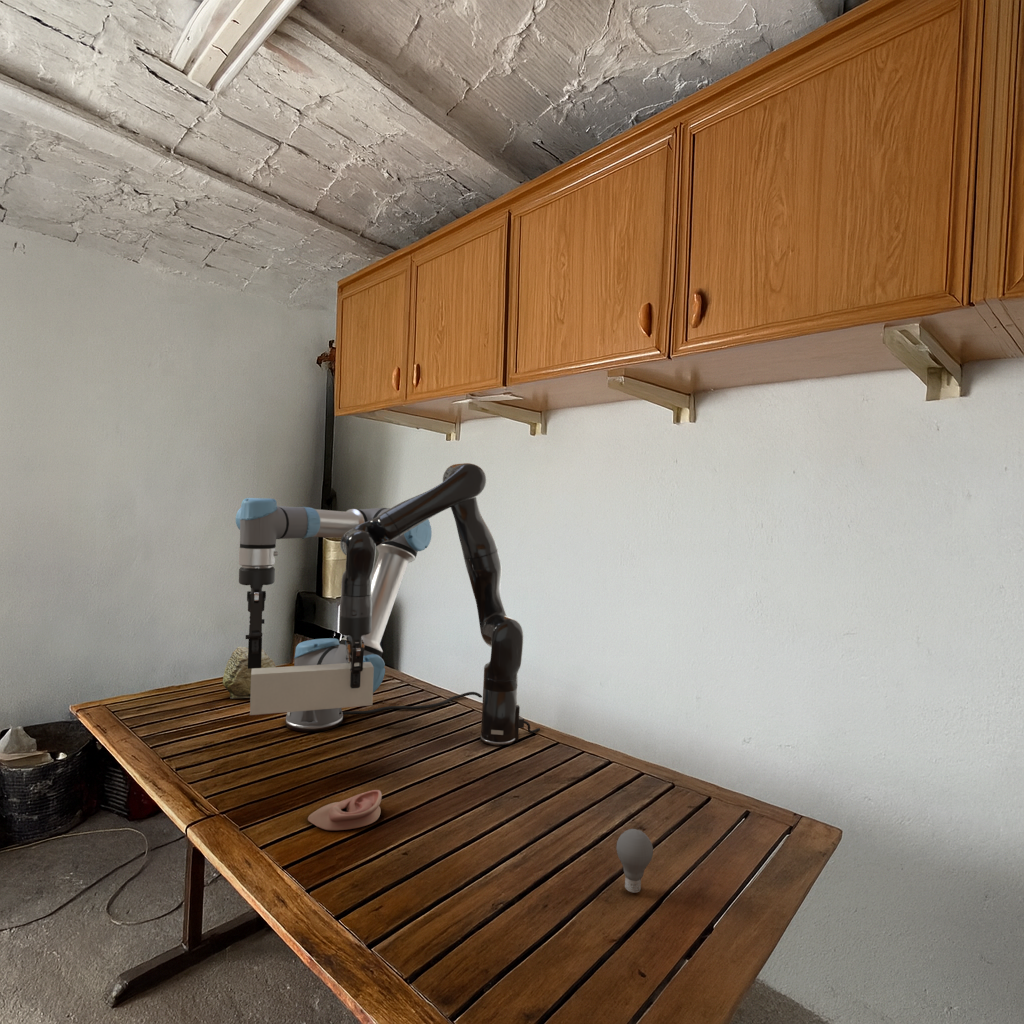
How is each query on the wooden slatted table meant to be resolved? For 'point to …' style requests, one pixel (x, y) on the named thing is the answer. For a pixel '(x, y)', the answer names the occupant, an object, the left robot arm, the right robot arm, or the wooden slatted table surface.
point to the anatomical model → (349, 812)
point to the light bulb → (634, 857)
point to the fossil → (242, 672)
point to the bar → (308, 688)
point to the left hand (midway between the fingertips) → (254, 660)
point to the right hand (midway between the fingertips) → (353, 683)
